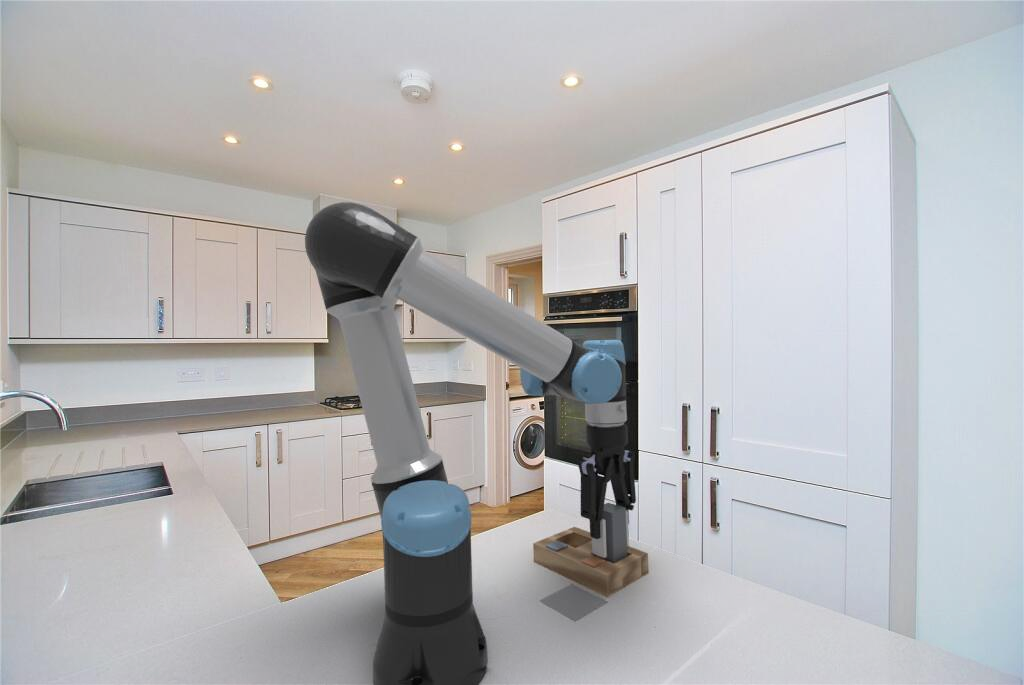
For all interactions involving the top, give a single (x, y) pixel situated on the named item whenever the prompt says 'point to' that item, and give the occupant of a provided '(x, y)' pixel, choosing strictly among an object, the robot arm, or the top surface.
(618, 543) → the plug
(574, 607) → the mat
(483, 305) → the robot arm
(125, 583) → the top surface
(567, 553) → the socket board
